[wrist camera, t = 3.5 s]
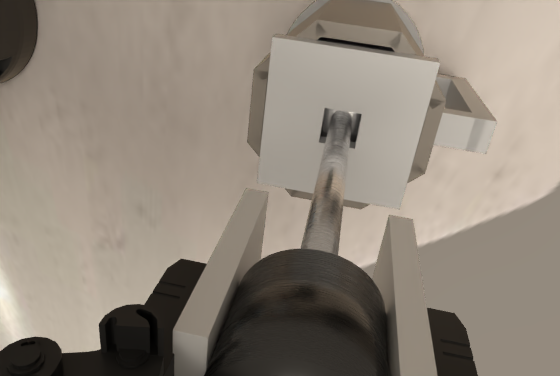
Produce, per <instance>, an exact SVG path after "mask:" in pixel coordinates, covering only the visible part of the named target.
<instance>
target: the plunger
mask: <svg viewBox="0 0 560 376" xmlns="http://www.w3.org/2000/svg"><path fill="white" fill-rule="evenodd" d="M360 118H361V114H358V113H352V112H346V111H340V110H335V109H329V108H325V113H324V118H323V124H322V130H321V136H323V137H326V142H325V146H324V150H323V155H322V159H321V163H320V168H319V172H318V176H317V181H316V185H315V189H314V193H313V198H312V202H311V206H310V211H309V215H308V219H307V224H306V228H305V232H304V237H303V241H302V245H301V249H291V250H285V251H280V252H277V253H274V254H271V255H269V256H267V257H265V258H263V259H261V260H260V261H258V262H257V263H255V264H254V265H253V266H252V267H251V268H250V269H249V270H248V271H247V272H246V274H245V275H244V277H243V278H242V280H241V282H240V285H239V287H238V290H237V292H236V295H235V297H234V300H233V302H232V305H231V308H230V310H229V313H228V315H227V318H226V320H225V323H224V326H223V328H222V331H221V333H220V336H219V338H218V341H217V344H216V346H215V349H214V351H213V354H212V356H211V359H210V362H209V364H208V367H207V369H206V372H205V374H204V376H388V354H387V331H386V310H385V304H384V300H383V297H382V295H381V293H380V291H379V289H378V287H377V286H376V284H375V283H374V281H373V280H372V279H371V278H370V277H369V276H368V275H367V274H366V273H365V272H364V271H363V270H362V269H361V268H359V267H358V266H356V265H355V264H353V263H352V262H350V261H348V260H346V259H344V258H342V257H340V256H338V249H339V240H340V230H341V221H342V211H343V202H344V192H345V183H346V174H347V164H348V155H349V145H350V141H352V142H356V137H357V132H358V127H359V122H360Z"/></svg>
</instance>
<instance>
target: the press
mask: <svg viewBox="0 0 560 376" xmlns="http://www.w3.org/2000/svg"><path fill="white" fill-rule="evenodd" d="M439 66H440V62H439V60H438V59H437V58H430V57H424V53H423V46H422V42H421V38H420V36H419V33H418V30H417V29H416V27H415V25H414V23H413V21H412V20H411V18H410V17H409V16H408V14H407V13H406V12H405V11H404V10H403V9H402V8H401V7H400V6H399V5H398V4H396V3H395V2H394V1H392V0H317V1H316V2H314V3H313V4H311V5H310V6H309V7H308V8H307V9H306V10H305V11H303V12H302V13H301V14H300V16H299V17H298V18H297V19H296V20H295V22H294V23H293V25H292V27H291V28H290V30H289V32H288V34H287V35H280V34H275V35H274V36H273V37H272V45H271V52H270V53H269V54H268V55H267V56H266V57H265V58H264V60H263V61H262V62H261V63H260V64H259V65H258V66H257V67H256V68H255V69H254V73H253V84H252V95H251V106H250V117H249V128H248V139H247V142H248V144H249V145H250V146H251V147H252V149H253V150H254V151H255V152H256V153H257V155H258V156H259V157H260V159H259V168H258V177H257V183H259V184H265V185H270V186H275V187H281V188H285V189H286V190H287V192H288V193H289V194H290V195H291V196H293V197H298V198H303V199H309V200H312V198H313V193H314V189H315V185H316V181H317V176H318V172H319V168H320V163H321V159H322V155H323V150H324V146H325V142H326V137H323V136H321V130H322V124H323V118H324V113H325V108H329V109H335V110H340V111H346V112H352V113H358V114H361V118H360V122H359V127H358V132H357V137H356V142H352V141H350V145H349V155H348V164H347V174H346V183H345V192H344V202H343V206H346V207H351V208H357V209H362V208H364V207H366V206H368V205H370V204H372V205H378V206H383V207H389V208H394V209H399V210H400V207H401V203H402V199H403V196H404V192H405V189H406V185H407V183H409V182H411V181H412V180H414V179H416V178H418V177H420V176H421V175H423V174H425V171H426V168H427V164H428V161H429V158H430V154H431V151H432V147H433V145H436V146H442V147H448V148H453V149H459V150H465V151H471V152H477V153H483V154H486V152H487V150H488V147H489V144H490V141H491V138H492V135H493V133H494V130H495V127H496V124H497V121H496V119H495V118H494V116H493V115H492V114H491V112H490V111H489V110H488V108H487V107H486V106H485V104H484V103H483V101H482V100H481V99H480V97H479V96H478V95H477V93H476V92H475V91H474V89H473V88H472V86H471V85H470V84H469V82H468V81H467V80H466V78H459V77H453V76H447V75H440V74H437V73H438V69H439ZM444 107H445V108H444Z"/></svg>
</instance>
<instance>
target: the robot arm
mask: <svg viewBox="0 0 560 376" xmlns="http://www.w3.org/2000/svg"><path fill="white" fill-rule="evenodd" d="M36 34H37V19H36V11H35V5H34V1H33V0H0V83H2V82H5V81H7V80H9V79H11V78H13V77H14V76H16V75H17V74H18V73H19V72H20V71H21V70H22V69H23V68H24V67H25V66H26V64H27V63H28V61H29V59H30V57H31V55H32V52H33V50H34V46H35V41H36ZM268 193H269V192H264V191H259V190H254V189H248V188H246V190H245V192H244V193H243V195H242V197H241V199H240V201H239V203H238V205H237V207H236V209H235V211H234V213H233V215H232V217H231V219H230V221H229V222H228V224H227V226H226V228H225V230H224V232H223V234H222V236H221V238H220V240H219V242H218V244H217V246H216V248H215V250H214V251H213V253H212V255H211V257H210V259H209V261H208V263H207V264H205V263H200V262H195V261H190V260H185V259H180V260H179V261H177V262H176V263H174V264H173V265H172V266H170V267H169V268H167V270H166V271H165V273H164V275H163V276H162V278H161V279H160V281H159V283H158V284H157V286H156V287H155V289H154V290H153V293H152V294H151V295H150V297H149V298H148V300H147V301H146V303H145V304H144V305H141V304H134V305H125V306H122V307H119V308H116V309H114V310H112V311H111V312H110V313H108V314H107V315H105V316H104V318H103V319H102V320H101V322H100V323H99V332H100V343H101V349H100V350H97V351H91V352H78V353H62V352H61V349H60V347H59V346H58V344H57V343H56V342H55V341H52V340H50V339H48V338H43V337H31V338H25V339H21V340H19V341H16V342H14V343H12V344H9V345H8V346H7V347H5V348H4V349H3V350H1V351H0V376H204V374H205V372H206V369H207V367H208V364H209V362H210V359H211V356H212V354H213V351H214V349H215V346H216V344H217V341H218V338H219V336H220V333H221V331H222V328H223V326H224V323H225V320H226V318H227V315H228V313H229V310H230V308H231V305H232V302H233V300H234V297H235V295H236V292H237V290H238V287H239V285H240V282H241V280H242V278H243V277H244V275H245V274H246V272H247V271H248V270H249V269H250V268H251V267H252V266H253V265H254V264H255V263H257V262H258V261H260V259H261V252H262V243H263V235H264V227H265V218H266V210H267V202H268ZM372 280H373V281H374V283H375V284H376V286H377V287H378V289H379V291H380V293H381V295H382V297H383V300H384V304H385V310H386V331H387V354H388V376H478V375H477V371H476V367H475V363H474V361H473V355H472V351H471V348H470V343H469V339H468V335H467V331H466V328H465V327H464V325H463V324H462V323H461V321H460V320H459V319H458V317H457V316H456V315H455V313H450V312H446V311H440V310H436V309H431V308H427V306H426V300H425V293H424V287H423V280H422V274H421V268H420V261H419V255H418V249H417V242H416V236H415V229H414V223H413V219H409V218H404V217H398V216H393V215H389V217H388V221H387V225H386V229H385V232H384V236H383V240H382V244H381V247H380V251H379V255H378V259H377V262H376V266H375V270H374V274H373V278H372Z"/></svg>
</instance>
